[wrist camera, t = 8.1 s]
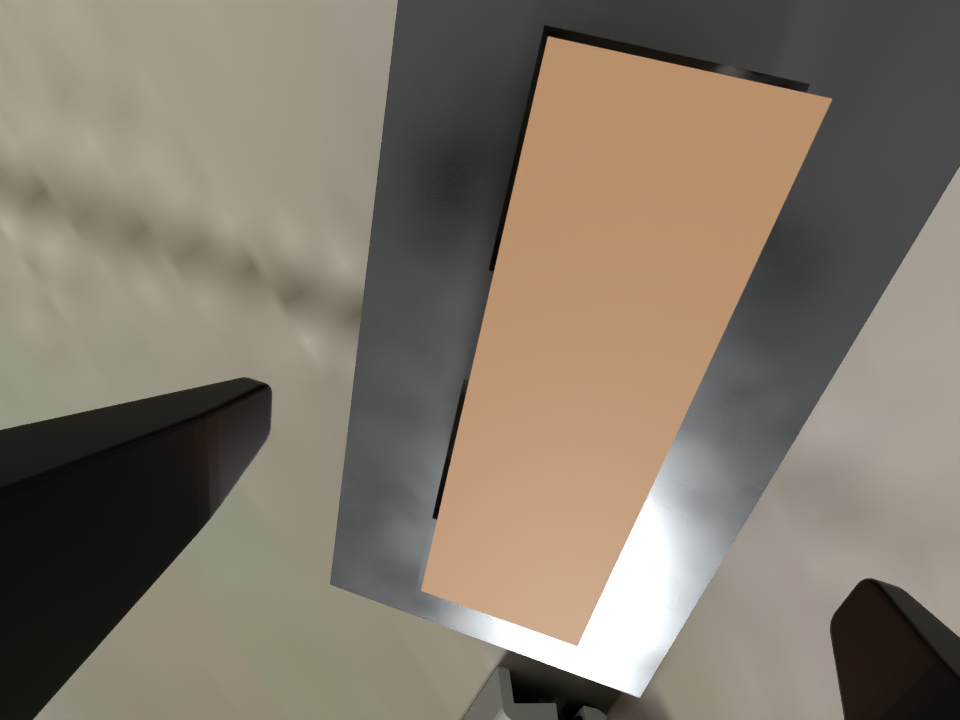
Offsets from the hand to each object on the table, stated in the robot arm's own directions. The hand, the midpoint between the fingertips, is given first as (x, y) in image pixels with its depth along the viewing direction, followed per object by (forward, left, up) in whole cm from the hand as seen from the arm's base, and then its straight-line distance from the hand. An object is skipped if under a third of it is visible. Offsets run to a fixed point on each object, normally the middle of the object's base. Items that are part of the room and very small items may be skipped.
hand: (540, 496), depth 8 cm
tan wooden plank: (0, 0, -8) cm, 9 cm away
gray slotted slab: (0, 0, -8) cm, 9 cm away
